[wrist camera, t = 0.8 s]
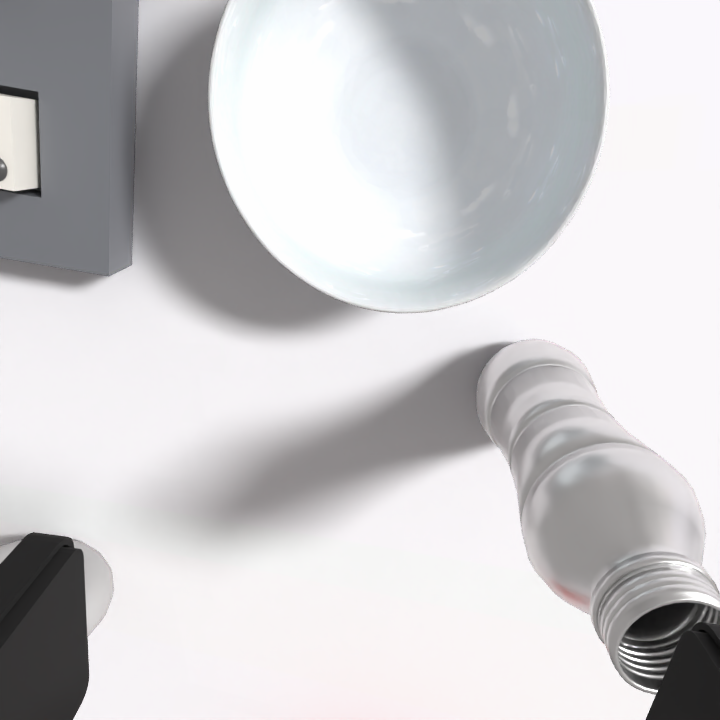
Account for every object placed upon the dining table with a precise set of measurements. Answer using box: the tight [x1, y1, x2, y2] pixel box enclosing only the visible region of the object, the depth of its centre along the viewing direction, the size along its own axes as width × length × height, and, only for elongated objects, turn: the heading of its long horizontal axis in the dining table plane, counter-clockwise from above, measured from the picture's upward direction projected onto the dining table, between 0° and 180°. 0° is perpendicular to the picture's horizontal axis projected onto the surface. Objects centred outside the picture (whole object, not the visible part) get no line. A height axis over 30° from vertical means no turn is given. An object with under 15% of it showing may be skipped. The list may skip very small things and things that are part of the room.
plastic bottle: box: [476, 339, 720, 694], centre depth 26 cm, size 6×7×20 cm
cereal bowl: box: [208, 0, 610, 313], centre depth 28 cm, size 17×17×7 cm
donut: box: [0, 540, 114, 637], centre depth 37 cm, size 10×4×10 cm, turn 83°
